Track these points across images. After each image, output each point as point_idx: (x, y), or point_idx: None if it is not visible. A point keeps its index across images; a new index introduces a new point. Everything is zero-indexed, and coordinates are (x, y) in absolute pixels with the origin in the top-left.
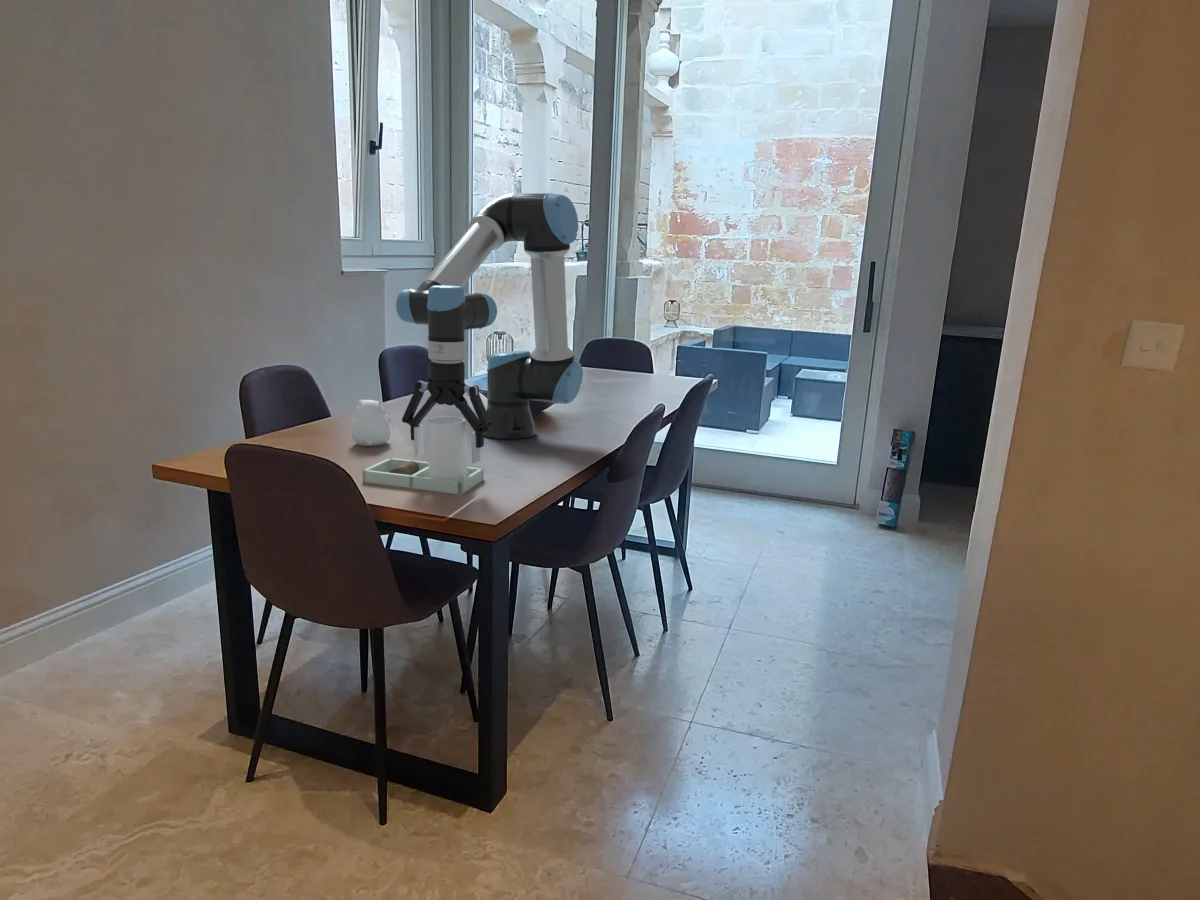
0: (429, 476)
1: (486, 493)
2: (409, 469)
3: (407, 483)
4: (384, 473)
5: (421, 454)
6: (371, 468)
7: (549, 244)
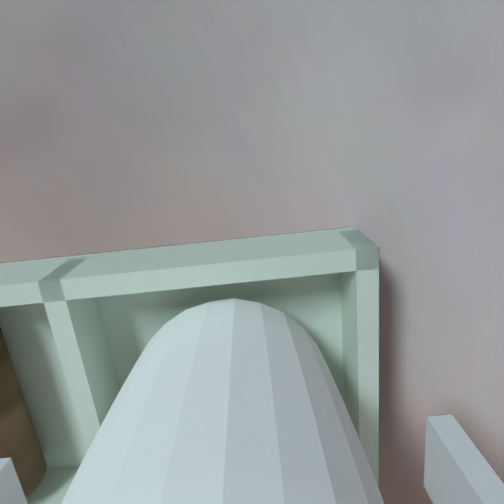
0: (105, 347)
1: (438, 369)
2: (4, 416)
3: None
4: None
5: (18, 484)
6: None
7: None
